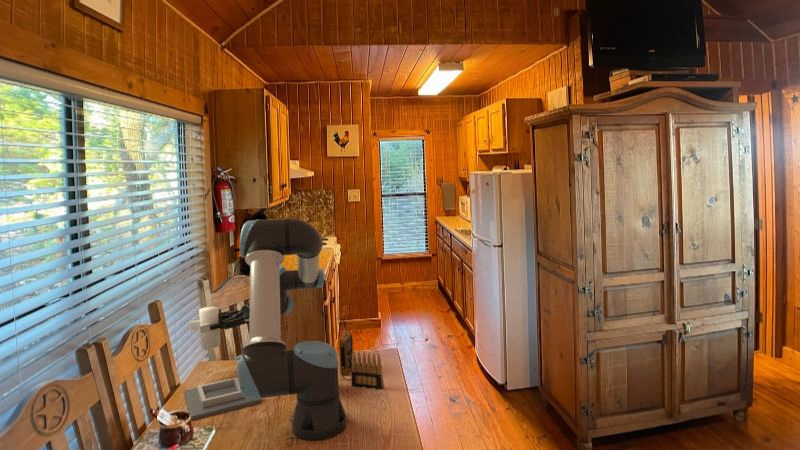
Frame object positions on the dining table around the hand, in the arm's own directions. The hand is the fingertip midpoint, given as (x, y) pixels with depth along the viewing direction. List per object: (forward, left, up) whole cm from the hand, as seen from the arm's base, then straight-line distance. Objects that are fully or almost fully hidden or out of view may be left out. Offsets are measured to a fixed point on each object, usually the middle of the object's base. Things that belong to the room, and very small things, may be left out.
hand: (195, 328), depth 159 cm
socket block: (-15, -5, -20) cm, 25 cm away
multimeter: (-20, -50, -20) cm, 57 cm away
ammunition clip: (-33, -48, -20) cm, 62 cm away
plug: (+2, -5, -8) cm, 9 cm away
